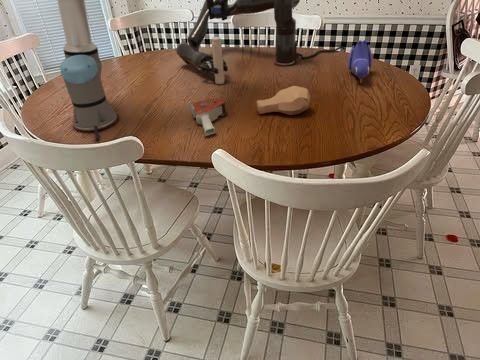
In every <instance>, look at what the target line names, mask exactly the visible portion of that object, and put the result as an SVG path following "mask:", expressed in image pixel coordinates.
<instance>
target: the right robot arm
mask: <svg viewBox="0 0 480 360" xmlns="http://www.w3.org/2000/svg"><path fill="white" fill-rule="evenodd" d="M221 1H222V0H214V6H216V5H221ZM300 2H301V0H235V1H234V2H233V3H231V4H228V10H227V18H229V17H233V16H240V15H251V14H258V13H262V12H266V11H269V10H273V17H274V18H273V19H274V22H275V65H277V66H282V67H287V66H293V65H294V64H295V63H296V62H297V59H299V58H301V60H302V59H303V60H306V59H307V60H308V59H311V58H312V57H315V56H316V55H318V54H320V53H332V52H336V51H338V50H340V49H341V50H346V47H344V46H338V47H336V48H334V49H321V50H317V51H316V52H315V53H312V54H310V55H307V56H303V54H301V53H300V52H298V51H297V48H298V47H297V46H298V45H297V44H298V43H297V41H296V31H297V30H296V29H297V21H296V18H294V17H293V9H295V8H296V7H297V6H298V5H299V3H300ZM214 19H216V20H217V19H218V20H219V19H222V16H221V13H218V14H215V18H214ZM209 20H210V18H209V10H208V9H207V1H206V0H204V2H203V5H202V7H201V10H200V12H199V15H198V17H197V19H196V22H195V24H194V26H193V28H192V29H191V31H190V33H189V34H188V35H187V38H186V40H187V42H181V43H179V44H178V45H177V46H176V49H175V52H176V54H177V56H178V57H179V58H180V59H181V61H183V63H185V64H186V65H192V66H194V67H195V68H196V69H197V72H200V73H203V74H209V73H211V74H214V73H215V74H218V69H217V68H215V67H214V64H213V55H210V54H208V53H205V52H203V51H200V46H201V44H202V43H203V41H204V40H205V37H206V35H207V32H208V25H209ZM223 69H224V72H228V69H229V68H228V66H227V62H226V61H225V60H224V59H223ZM215 74H214V75H215Z"/></svg>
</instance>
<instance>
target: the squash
mask: <svg viewBox="0 0 480 360" xmlns="http://www.w3.org/2000/svg"><path fill="white" fill-rule="evenodd" d="M311 98H312V97H311V95H310V90H309V89H307V88H306V87H302V86H298V85H292V86H289V87H287V88H283V89H280V90H279V91H277V92H276V94H275V95H274V96H272V97H271V98H265V99H257V100H256V102H255V103H256V107H257V109H256V110H257V113H258V114H259V115H263V114H266V113H273V112H275V113H282V114H284V115H287V116H295V115H300V114H301V113H303V112H305V111H306V110H308V109H309V107H310V102H311Z"/></svg>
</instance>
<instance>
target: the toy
mask: <svg viewBox="0 0 480 360" xmlns="http://www.w3.org/2000/svg"><path fill="white" fill-rule="evenodd" d="M367 43H369V40H367V39H364V40H360V39H359V40H357V41H356V45H352V46H351V48H350V51H349V54H348V57H347V68H348V70H350V72H351V73H352V74H353V75H354V76H356V78H358V79H359V83H360V84H362V82H363V79H365V78H366V77H367V76H368V75H369V74H370V73H371V68H372V65H373V53H372V48H371V46H370V44H367Z"/></svg>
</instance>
